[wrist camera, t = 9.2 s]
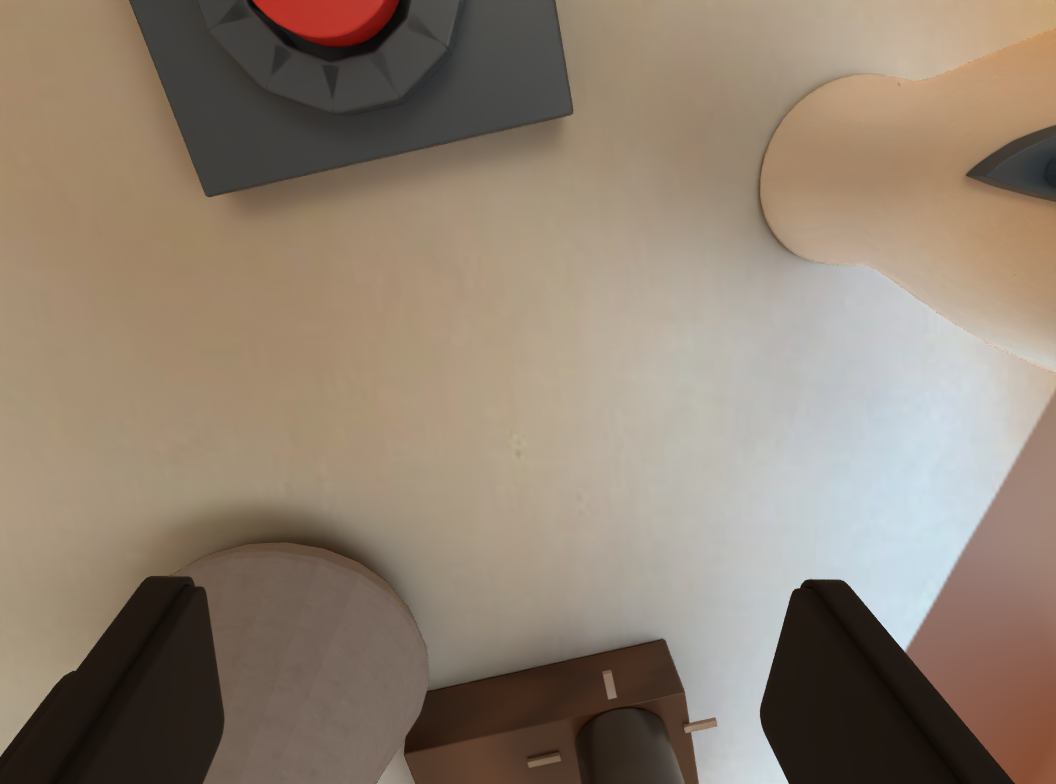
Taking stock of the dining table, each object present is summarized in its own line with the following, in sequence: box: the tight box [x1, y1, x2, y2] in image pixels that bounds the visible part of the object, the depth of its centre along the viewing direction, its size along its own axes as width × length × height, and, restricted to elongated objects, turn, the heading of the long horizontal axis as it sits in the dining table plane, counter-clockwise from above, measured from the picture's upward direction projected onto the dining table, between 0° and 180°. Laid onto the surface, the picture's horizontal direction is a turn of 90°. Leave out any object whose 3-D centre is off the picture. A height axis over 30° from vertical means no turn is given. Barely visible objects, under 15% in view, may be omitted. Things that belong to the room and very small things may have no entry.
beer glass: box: [760, 28, 1056, 374], centre depth 15 cm, size 7×7×15 cm
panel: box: [404, 640, 717, 784], centre depth 29 cm, size 13×12×3 cm
